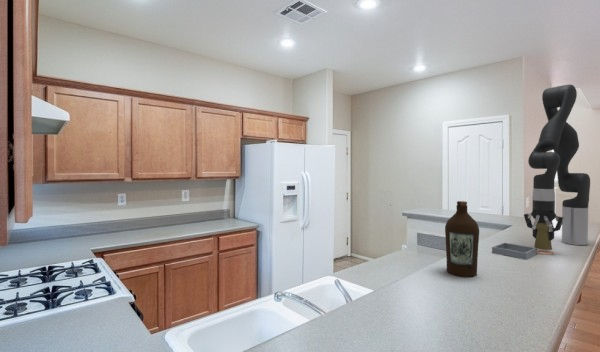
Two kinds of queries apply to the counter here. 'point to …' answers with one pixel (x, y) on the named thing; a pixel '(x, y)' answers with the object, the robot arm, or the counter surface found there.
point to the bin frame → (504, 247)
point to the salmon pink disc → (544, 252)
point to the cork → (542, 237)
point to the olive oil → (462, 242)
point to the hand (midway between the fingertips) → (543, 239)
